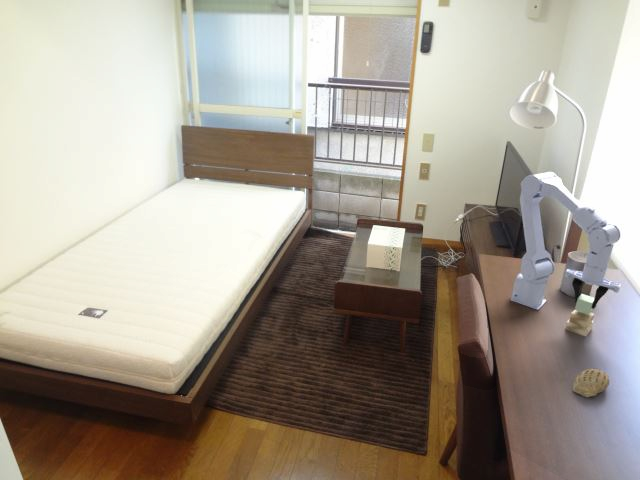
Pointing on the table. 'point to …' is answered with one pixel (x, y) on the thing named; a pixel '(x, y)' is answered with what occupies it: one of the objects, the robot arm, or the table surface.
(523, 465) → the table surface
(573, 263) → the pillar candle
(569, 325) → the base slab
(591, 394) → the seashell
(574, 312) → the beige square block
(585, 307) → the sage cube
